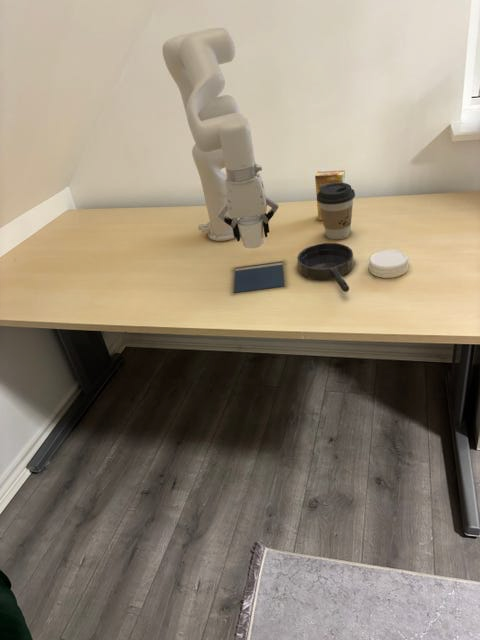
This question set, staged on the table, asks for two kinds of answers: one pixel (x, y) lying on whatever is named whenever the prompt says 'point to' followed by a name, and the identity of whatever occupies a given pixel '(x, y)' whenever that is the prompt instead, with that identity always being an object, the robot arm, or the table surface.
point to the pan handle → (339, 279)
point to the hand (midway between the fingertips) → (252, 236)
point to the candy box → (327, 182)
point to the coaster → (388, 263)
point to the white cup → (251, 231)
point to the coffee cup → (336, 209)
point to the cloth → (259, 277)
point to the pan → (325, 260)
